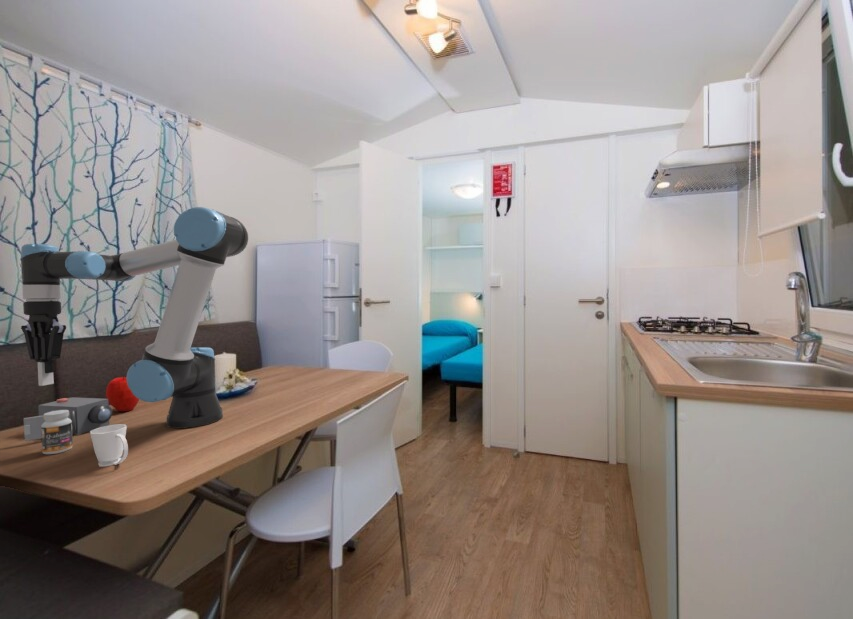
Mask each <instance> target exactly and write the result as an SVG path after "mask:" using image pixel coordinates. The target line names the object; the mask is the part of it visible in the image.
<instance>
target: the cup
mask: <svg viewBox="0 0 853 619" xmlns="http://www.w3.org/2000/svg"><path fill="white" fill-rule="evenodd" d="M127 428H128V426H127V425H126V423H123V424H122V423H121V424H119V423H118V424H117V423H116V424H115V423H113V424H109V425H107V426H103V427H99V428H96V429H94V430H91V431H89V434H90V437H91V442H92V445H93V451H94V453H95V456H96V458H97V462H98V463H97V464H98V467H109V466H113V465H114V466H117V465H120V464H121V463H123V462H124V461H125V460H126V458H127V457H128V455H129V445H128V440H127V439H126V435H127V430H128V429H127Z"/></svg>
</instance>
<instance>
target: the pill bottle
mask: <svg viewBox="0 0 853 619" xmlns="http://www.w3.org/2000/svg"><path fill="white" fill-rule="evenodd" d="M68 416H69V410H57V411H52V412H48V413H45V414H44V420H45V422H44V423H43V424H42V426H41V432H42V438H41V448H42V449H41V451H42V452H41V453H42V454H44V455H56V454H61V453H64V452H67V451H69V450H71V449H72V448H73V447H74V445H73V444H74V442H73V441H74V440H73V439H74V438H73V435H72V421H71V419H69V418H68Z"/></svg>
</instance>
